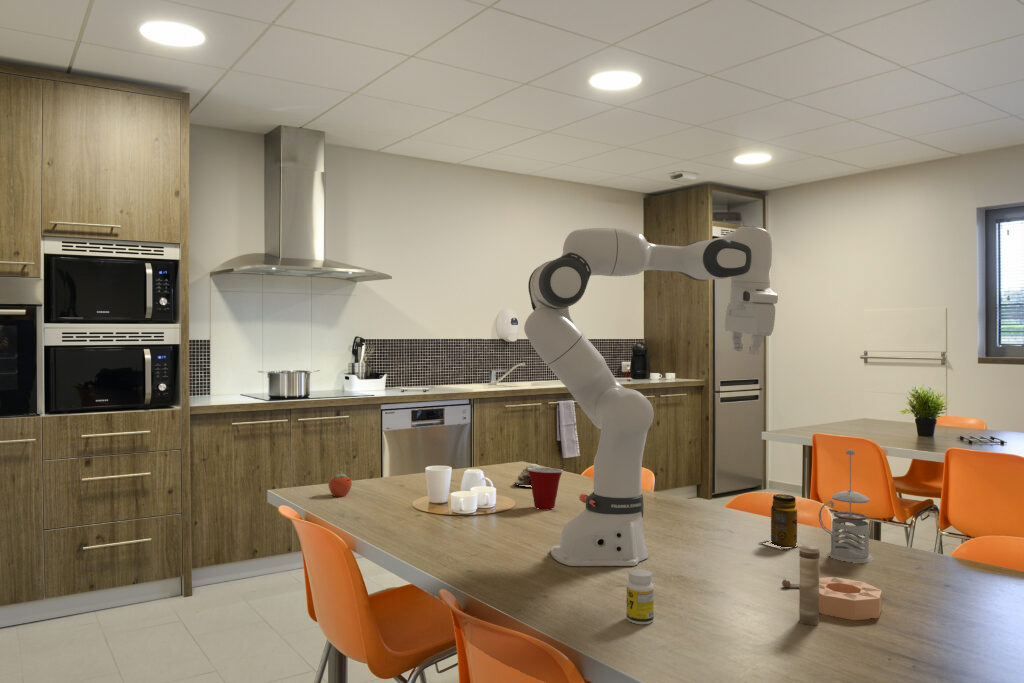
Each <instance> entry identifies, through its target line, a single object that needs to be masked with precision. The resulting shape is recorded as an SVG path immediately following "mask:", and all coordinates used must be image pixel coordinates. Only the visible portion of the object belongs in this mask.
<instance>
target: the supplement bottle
mask: <svg viewBox="0 0 1024 683" xmlns="http://www.w3.org/2000/svg"><path fill="white" fill-rule="evenodd" d="M652 575H653V573H652V572H651V571H649V570H647V569H640V568H639V569H635V568H634V569H631V570H629V572H628V581H627V583H626V619H627V621H628V622H630V623H631V622H632V624H634V623H635V624H634V625H649V624H652V623H653V622H654V618H655V617H654V615H655V614H654V612H655V611H654V610H655V608H654V605H655V602H654V601H655V599H654V597H655V592H654V590H655V586H654V584H653V583H652V580H653V579H652V578H653V576H652ZM651 622H652V623H651Z"/></svg>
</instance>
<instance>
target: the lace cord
mask: <svg viewBox="0 0 1024 683" xmlns="http://www.w3.org/2000/svg"><path fill="white" fill-rule="evenodd" d="M781 585H782V586H783V587H784V588H792V589H793V588H795V589H797V588H798V589H800V583H791V581H790V580H789V579H786V578H785V579H783V580H782V582H781Z"/></svg>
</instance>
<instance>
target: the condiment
mask: <svg viewBox="0 0 1024 683" xmlns="http://www.w3.org/2000/svg"><path fill="white" fill-rule="evenodd" d="M772 499H773V500H772V505H771V507H770V540H771V541H772V542H771V543H772V544H774V545H777V546H781V547H795V546H796V545H797V544H798V508H797V507H796V505H797V504H796V496H793V495H791V494H783V493H781V494H780V493H778V494H774V495H772ZM770 540H764V541H759V542H757V543H758V544H760V545H762V544H763V543H766V542H769V541H770ZM796 543H797V544H796ZM781 547H780V548H781ZM783 549H785V550H783ZM786 549H787V550H791V549H792V548H790V549H789V548H781V549H779V550H780V551H786Z"/></svg>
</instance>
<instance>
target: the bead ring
mask: <svg viewBox="0 0 1024 683" xmlns="http://www.w3.org/2000/svg"><path fill="white" fill-rule="evenodd" d="M882 609H883V591H882V590H881V589H879V588H878V587H875V586H873V585H871V584H868V583H866V582H865V581H861V580H855V579H854V580H853V579H848V578H842V577H836V576H835V577H834V576H831V577H830V576H829V577H827V576H826V577H819V614H822V615H824V616H829V615H830V617H834V616H835V618H840V619H845V620H846V619H847V620H851V621H860V620H861V621H862V620H871V619H870V618H874V619H880V617H881V614H880V613H882V611H883V610H882ZM879 616H880V617H879Z"/></svg>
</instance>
